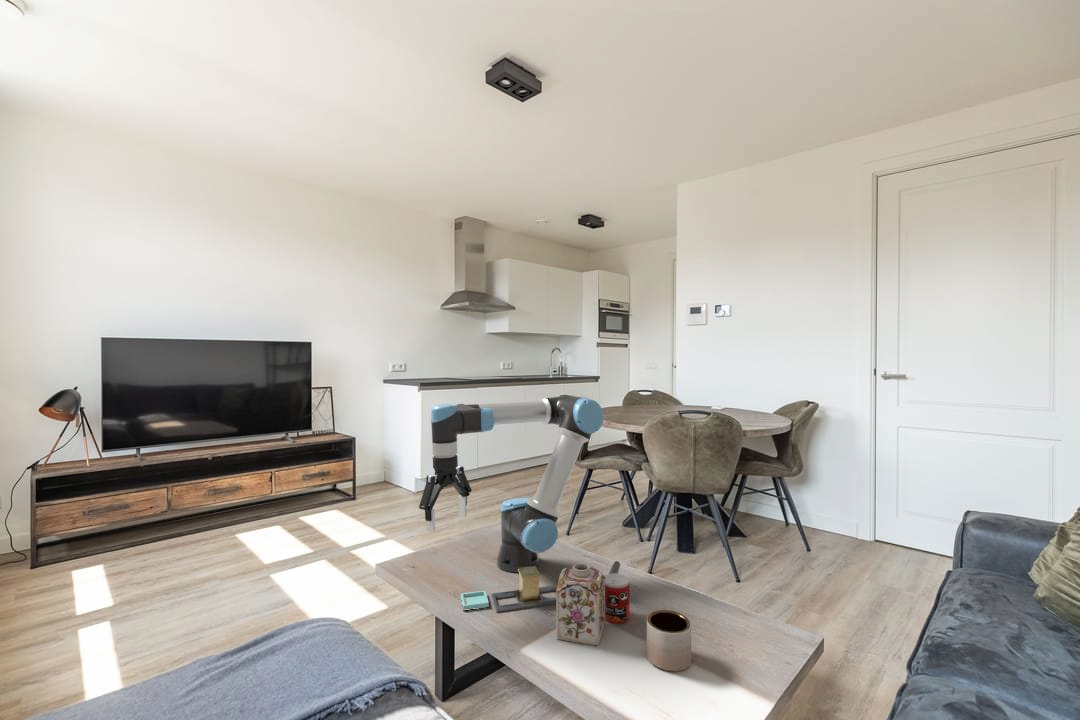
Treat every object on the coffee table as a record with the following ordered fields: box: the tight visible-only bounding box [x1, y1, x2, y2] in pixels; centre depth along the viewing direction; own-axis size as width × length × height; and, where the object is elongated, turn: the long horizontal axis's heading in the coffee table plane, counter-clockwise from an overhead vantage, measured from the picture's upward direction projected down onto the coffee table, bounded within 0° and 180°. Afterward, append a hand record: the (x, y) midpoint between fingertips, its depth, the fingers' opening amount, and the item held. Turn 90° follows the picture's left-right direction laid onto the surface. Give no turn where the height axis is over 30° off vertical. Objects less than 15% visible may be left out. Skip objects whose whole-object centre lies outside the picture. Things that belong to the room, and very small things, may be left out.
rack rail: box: [490, 584, 557, 613], centre depth 150 cm, size 22×9×1 cm, turn 105°
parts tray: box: [460, 590, 490, 610], centre depth 148 cm, size 8×8×2 cm
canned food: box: [604, 573, 630, 625], centre depth 140 cm, size 8×8×11 cm
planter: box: [645, 609, 693, 672], centre depth 121 cm, size 11×11×10 cm
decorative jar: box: [555, 562, 606, 646], centre depth 133 cm, size 12×12×18 cm
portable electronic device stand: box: [608, 560, 621, 574], centre depth 154 cm, size 9×8×8 cm
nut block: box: [518, 566, 541, 603], centre depth 150 cm, size 6×6×9 cm
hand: (447, 523), depth 150 cm, fingers open, 13 cm apart
